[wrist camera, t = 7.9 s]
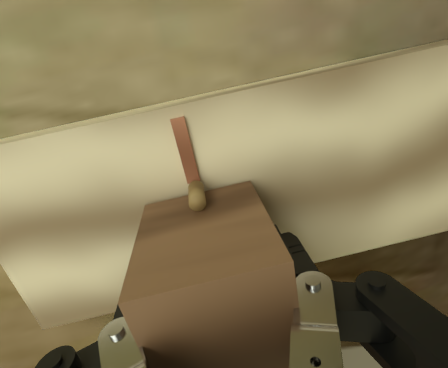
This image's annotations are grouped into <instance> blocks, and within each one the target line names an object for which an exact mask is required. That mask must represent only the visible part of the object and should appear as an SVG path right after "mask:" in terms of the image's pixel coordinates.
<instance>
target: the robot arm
mask: <svg viewBox="0 0 448 368" xmlns="http://www.w3.org/2000/svg"><path fill="white" fill-rule="evenodd" d="M274 226H275V228H276V229H277V231H278V233H279V235H280V237H281V239H282V241H283V242H284V244H285V246H286V248H287V250H288V252H289V254H290V255H291V257H292V259H293V261H294V269H295V277H296V285H297V293H298V301H299V307H298V308H294V311H293V324H291V333H290V360H289V368H343V360H342V352H341V344H340V341H351V342H360V344H361V345H362V346H363V347H364V348H365V349H366V350H367V351H368V352H369V354H370V355H371V356H372V357H373V358H374V359H375V360H376V361H377V362H378V363H379V364H380V365H381V366H382V367H383V368H448V317H447V316H445V315H444V314H442V313H441V312H440V311H438V310H437V309H435V308H434V307H433V306H431V305H430V304H428V303H427V302H426V301H424V300H423V299H421V298H420V297H419V296H417V295H416V294H414V293H413V292H412V291H410V290H409V289H408V288H406V287H405V286H403V285H402V284H401V283H399V282H398V281H396V280H395V279H394V278H392V277H391V276H389V275H387V274H385V273H382V272H377V271H368V272H364V273H362V274H360V275H359V276H358V277H357V278H356V282H336V281H332V280H331V279H330V278H329V277H328V276H327V275H325V274H323V273H321V272H319V271H318V269H317V267H316V266H315V264H314V263H313V261H312V259H311V258H310V256H309V255H308V253H307V252H306V251H305V248H304V247H303V245H302V244H301V242H300V240H299V239H298V237H297V236H295V235H293V234H292V233H290V232H286V233H282V234H281V233H280V231H279V229H278V227H277V225H276V224H274ZM35 368H150V366H149V363H148V360H147V356H146V354H145V352H144V350H143V348H142V347H138V346H137V344H136V342H135V340H134V338H133V336H132V333H131V331H130V329H129V327H128V325H127V323H126V321H125V318H124V316H123V314H122V312H121V310H120V308H119V306H118V304H117V308H116V311H115V315H114V319H113V321H111V322H110V323H108V324H107V325H106V326H105V327H104V328H103V329H102V331H101V332H100V334H99V337H98V341H96V342H95V343H93V344H91V345H89V346H87V347H85V348H83V349H81V350H79V351H78V352H76V351H75V350H74V348H73V347H71V346H61V347H58V348H56V349H54V350H52V351H51V352H49V353H48V354H46V355H45V356H44V357H43V358H42V359H41V360H40V361H39V363H38V364H37V365H36V367H35Z"/></svg>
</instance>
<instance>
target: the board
mask: <svg viewBox="0 0 448 368" xmlns="http://www.w3.org/2000/svg"><path fill="white" fill-rule="evenodd" d="M195 180H197V181H200V182H202V183H203V185H204V191H208V190H212V189H216V188H220V187H225V186H229V185H233V184H237V183H242V182H246V181H251V183H252V185H253V187H254V189H255V190H256V192H257V194H258V196H259V198H260V200H261V202H262V203H263V205H264V207H265V209H266V211H267V213H268V215H269V216H270V218H271V220H272V222H273V224H276V225H277V227H278V229H279V231H280V233H281V234H282V233H286V232H290V233H292V234H293V235H295V236H297V237H298V239H299V240H300V242H301V244H302V245H303V247H304V248H305V251H306V252H307V253H308V255H309V256H310V258H311V259H312V261H313V263H318V262H322V261H326V260H330V259H334V258H338V257H342V256H346V255H350V254H354V253H359V252H363V251H367V250H371V249H375V248H379V247H383V246H387V245H391V244H395V243H399V242H403V241H407V240H412V239H416V238H420V237H424V236H428V235H432V234H436V233H440V232H444V231H448V39H447V40H442V41H438V42H433V43H429V44H424V45H420V46H415V47H411V48H406V49H402V50H397V51H393V52H388V53H384V54H379V55H375V56H370V57H366V58H361V59H357V60H352V61H348V62H343V63H339V64H334V65H330V66H325V67H321V68H316V69H312V70H307V71H303V72H298V73H294V74H289V75H285V76H280V77H276V78H271V79H267V80H263V81H258V82H254V83H249V84H245V85H240V86H236V87H231V88H227V89H222V90H218V91H213V92H209V93H204V94H200V95H195V96H191V97H186V98H182V99H177V100H173V101H168V102H164V103H159V104H155V105H150V106H146V107H141V108H137V109H132V110H128V111H123V112H119V113H114V114H110V115H105V116H101V117H96V118H92V119H87V120H83V121H78V122H74V123H69V124H65V125H60V126H56V127H51V128H47V129H42V130H38V131H34V132H29V133H25V134H20V135H16V136H11V137H7V138H2V139H0V264H1V266H2V267H3V269H4V270H5V272H6V273H7V275H8V276H9V278H10V280H11V281H12V283H13V284H14V286H15V287H16V289H17V291H18V292H19V294H20V295H21V297H22V298H23V300H24V302H25V303H26V305H27V306H28V308H29V309H30V311H31V312H32V314H33V316H34V317H35V319H36V320H37V322H38V323H39V325H40V327H41V328H42V330H44V329H48V328H53V327H57V326H61V325H65V324H69V323H73V322H77V321H81V320H85V319H89V318H93V317H97V316H102V315H106V314H110V313H114V312H115V311H116V308H117V304H118V301H119V297H120V293H121V290H122V286H123V283H124V279H125V275H126V272H127V268H128V265H129V261H130V257H131V254H132V250H133V246H134V243H135V239H136V236H137V232H138V228H139V225H140V221H141V218H142V214H143V210H144V207H145V205H148V204H152V203H156V202H161V201H165V200H169V199H173V198H178V197H182V196H186V195H188V186H189V184H190V183H191V182H192V181H195Z"/></svg>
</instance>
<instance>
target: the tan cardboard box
mask: <svg viewBox="0 0 448 368" xmlns="http://www.w3.org/2000/svg"><path fill="white" fill-rule="evenodd" d="M118 306H119V308H120V310H121V312H122V314H123V316H124V318H125V321H126V323H127V325H128V327H129V329H130V331H131V333H132V336H133V338H134V340H135V342H136V344H137V346H138V347H142V348H143V350H144V352H145V354H146V356H147V360H148V363H149V366H150V368H289V360H290V333H291V324H293V311H294V308H298V307H299V301H298V293H297V285H296V277H295V269H294V261H293V259H292V257H291V255H290V254H289V252H288V250H287V248H286V246H285V244H284V242H283V241H282V239H281V237H280V235H279V233H278V231H277V229H276V228H275V226H274V224H273V222H272V220H271V218H270V216H269V215H268V213H267V211H266V209H265V207H264V205H263V203H262V202H261V200H260V198H259V196H258V194H257V192H256V190H255V189H254V187H253V185H252V183H251V181H246V182H242V183H237V184H233V185H229V186H225V187H220V188H216V189H212V190H208V191H204V185H203V183H202V182H200V181H197V180H195V181H192V182H191V183H190V184H189V186H188V195H186V196H182V197H178V198H173V199H169V200H165V201H161V202H156V203H152V204H148V205H145V207H144V210H143V214H142V218H141V221H140V225H139V228H138V232H137V236H136V239H135V243H134V246H133V250H132V254H131V257H130V261H129V265H128V268H127V272H126V275H125V279H124V283H123V286H122V290H121V293H120V297H119V301H118Z"/></svg>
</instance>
